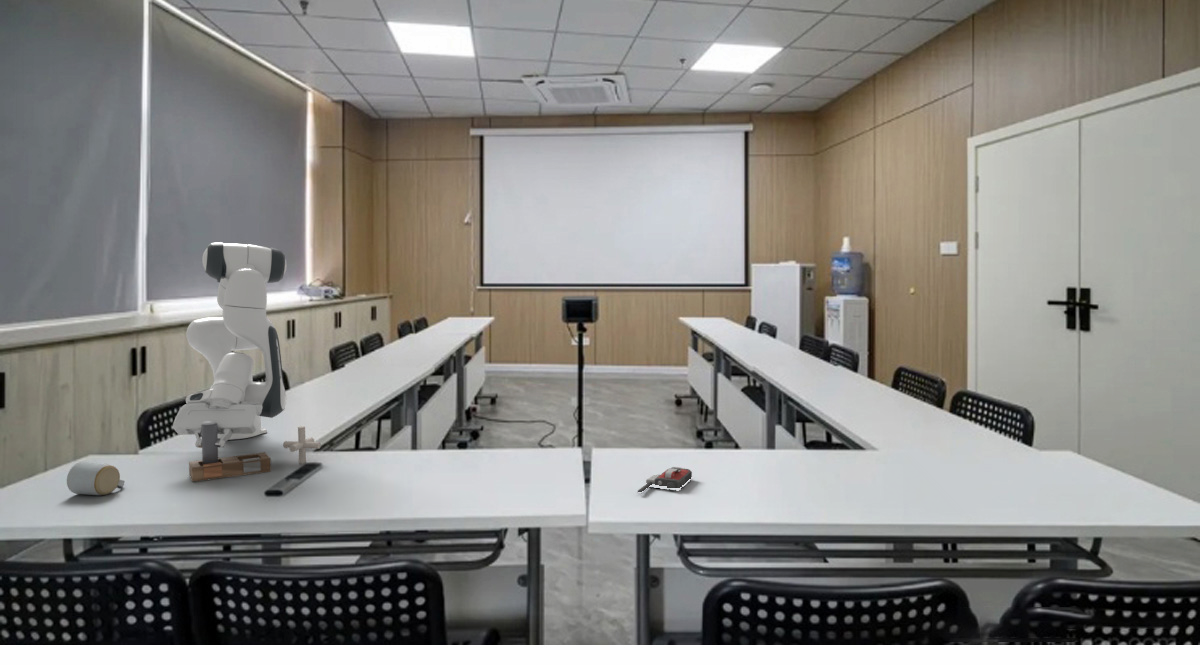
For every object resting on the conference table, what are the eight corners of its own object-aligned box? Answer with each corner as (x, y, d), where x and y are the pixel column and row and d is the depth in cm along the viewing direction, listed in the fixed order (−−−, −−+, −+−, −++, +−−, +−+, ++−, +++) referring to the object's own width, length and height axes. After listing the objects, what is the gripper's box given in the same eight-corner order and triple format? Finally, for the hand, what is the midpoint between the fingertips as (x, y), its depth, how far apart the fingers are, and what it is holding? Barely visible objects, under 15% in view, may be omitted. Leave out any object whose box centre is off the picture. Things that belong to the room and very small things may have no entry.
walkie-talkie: (661, 476, 184) (634, 497, 166) (661, 459, 184) (634, 479, 165) (694, 480, 180) (670, 502, 162) (694, 463, 180) (670, 483, 162)
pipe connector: (328, 458, 200) (327, 423, 199) (310, 467, 190) (309, 431, 189) (294, 457, 201) (294, 423, 200) (275, 466, 191) (274, 430, 190)
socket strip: (189, 475, 183) (189, 460, 182) (265, 464, 193) (264, 451, 193) (192, 482, 176) (192, 467, 175) (271, 471, 186) (270, 457, 186)
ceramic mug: (96, 499, 162) (95, 466, 161) (66, 497, 163) (65, 464, 163) (134, 487, 172) (133, 456, 172) (105, 485, 173) (104, 454, 173)
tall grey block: (202, 469, 182) (200, 421, 181) (217, 467, 184) (216, 420, 183) (203, 472, 179) (201, 423, 178) (219, 470, 181) (217, 422, 180)
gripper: (267, 408, 193) (254, 452, 184) (189, 409, 191) (172, 453, 182) (260, 394, 188) (247, 438, 179) (180, 395, 186) (162, 440, 177)
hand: (208, 446), depth 181 cm, fingers closed on tall grey block, 3 cm apart
